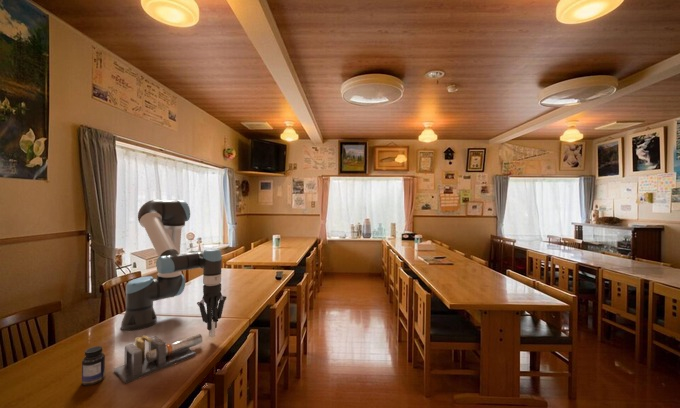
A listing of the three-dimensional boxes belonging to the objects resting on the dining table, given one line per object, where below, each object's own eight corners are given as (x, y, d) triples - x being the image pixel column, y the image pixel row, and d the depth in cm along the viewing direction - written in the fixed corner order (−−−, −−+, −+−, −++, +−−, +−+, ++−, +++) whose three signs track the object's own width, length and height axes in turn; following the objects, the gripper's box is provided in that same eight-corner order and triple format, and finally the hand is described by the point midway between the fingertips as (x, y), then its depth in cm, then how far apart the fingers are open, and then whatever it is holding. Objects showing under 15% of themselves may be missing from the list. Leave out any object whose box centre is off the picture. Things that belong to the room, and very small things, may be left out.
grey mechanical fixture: (114, 371, 108) (114, 347, 108) (181, 346, 127) (181, 326, 127) (125, 383, 101) (125, 357, 101) (195, 355, 120) (195, 333, 120)
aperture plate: (134, 361, 113) (134, 337, 113) (143, 357, 115) (144, 334, 115) (141, 367, 109) (141, 342, 109) (151, 363, 111) (151, 339, 111)
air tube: (150, 364, 110) (150, 353, 110) (145, 361, 113) (146, 349, 113) (202, 344, 126) (202, 334, 126) (197, 342, 129) (197, 332, 129)
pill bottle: (90, 376, 105) (91, 345, 105) (109, 375, 105) (109, 344, 106) (76, 386, 99) (77, 353, 99) (96, 385, 99) (96, 353, 99)
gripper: (202, 288, 124) (202, 344, 124) (230, 282, 135) (229, 333, 134) (193, 285, 129) (193, 339, 129) (221, 279, 139) (220, 329, 139)
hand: (211, 336), depth 132 cm, fingers closed
